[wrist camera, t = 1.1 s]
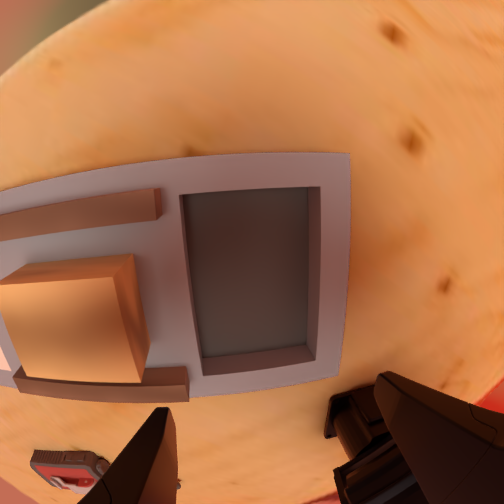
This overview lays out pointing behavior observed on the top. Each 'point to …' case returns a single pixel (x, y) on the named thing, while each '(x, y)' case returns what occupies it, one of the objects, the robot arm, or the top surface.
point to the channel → (82, 217)
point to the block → (77, 319)
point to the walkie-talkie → (70, 469)
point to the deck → (218, 262)
